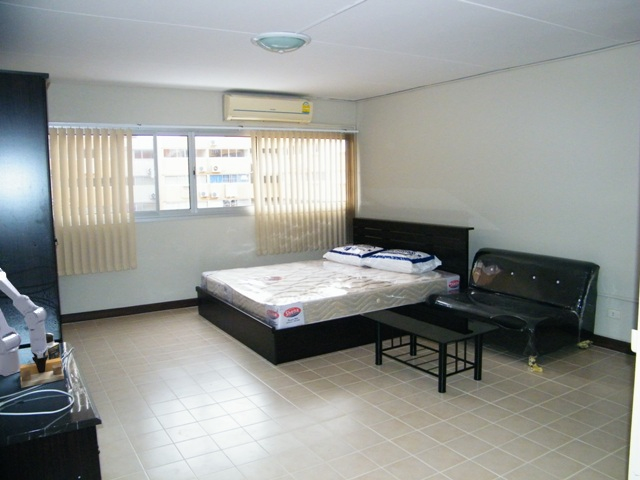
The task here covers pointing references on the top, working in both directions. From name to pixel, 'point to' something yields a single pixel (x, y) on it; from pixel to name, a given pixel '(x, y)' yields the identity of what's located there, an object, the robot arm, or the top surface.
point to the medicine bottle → (52, 347)
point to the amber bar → (33, 367)
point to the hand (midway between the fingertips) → (41, 369)
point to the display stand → (41, 377)
